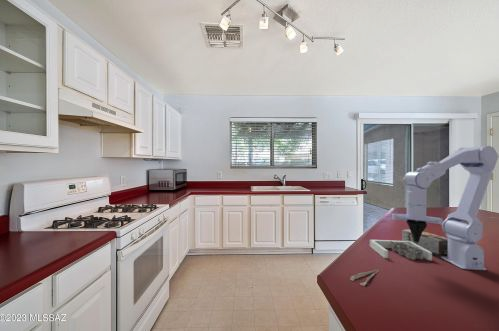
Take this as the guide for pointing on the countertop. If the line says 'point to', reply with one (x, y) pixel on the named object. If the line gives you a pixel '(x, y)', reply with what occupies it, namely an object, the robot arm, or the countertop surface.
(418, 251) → the egg carton
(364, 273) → the tweezers
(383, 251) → the white l-shaped bracket
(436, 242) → the coffee box
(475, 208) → the robot arm
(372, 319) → the countertop surface
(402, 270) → the countertop surface
